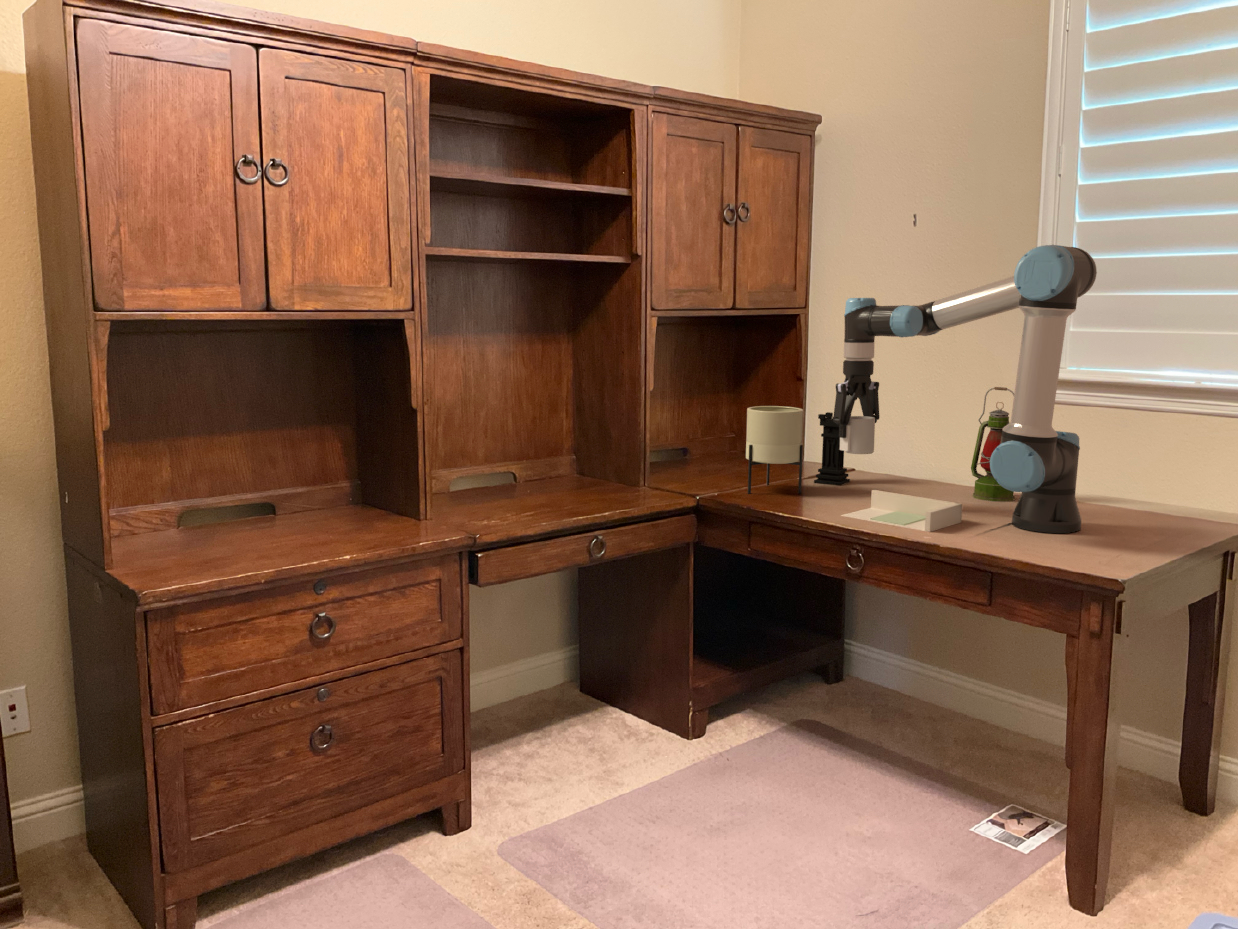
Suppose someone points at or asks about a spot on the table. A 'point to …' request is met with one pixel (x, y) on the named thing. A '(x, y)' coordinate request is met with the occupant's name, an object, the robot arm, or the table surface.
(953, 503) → the tray
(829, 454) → the chess piece
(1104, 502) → the table surface
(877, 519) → the pad
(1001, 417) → the lantern
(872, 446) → the cup
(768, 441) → the planter
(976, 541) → the table surface
